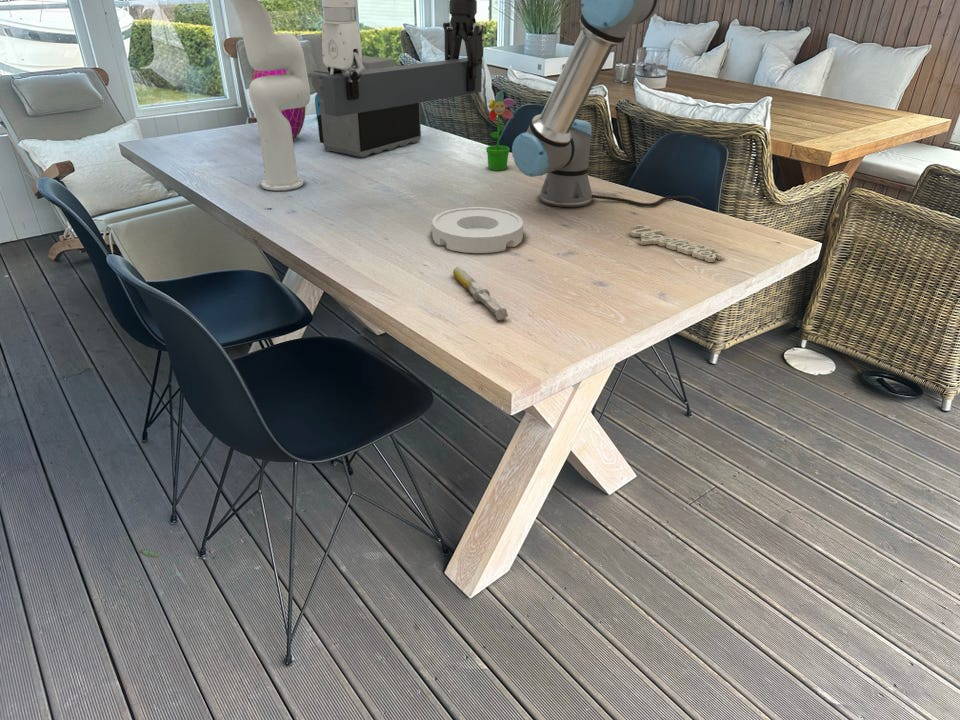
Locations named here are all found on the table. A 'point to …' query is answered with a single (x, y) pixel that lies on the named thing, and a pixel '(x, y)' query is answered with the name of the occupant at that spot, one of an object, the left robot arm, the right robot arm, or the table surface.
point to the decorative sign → (674, 243)
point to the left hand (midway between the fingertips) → (346, 96)
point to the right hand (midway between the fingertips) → (463, 89)
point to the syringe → (479, 293)
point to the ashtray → (477, 229)
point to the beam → (398, 86)
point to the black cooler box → (367, 122)
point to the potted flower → (497, 152)
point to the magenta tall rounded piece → (292, 115)
